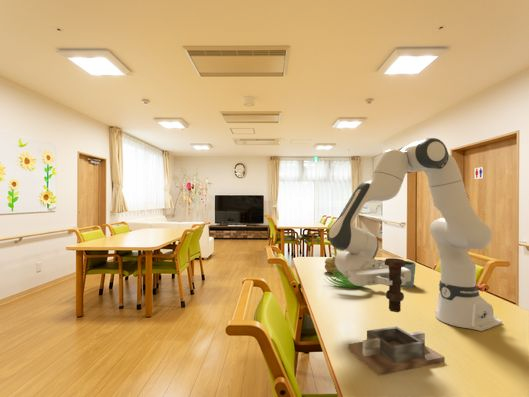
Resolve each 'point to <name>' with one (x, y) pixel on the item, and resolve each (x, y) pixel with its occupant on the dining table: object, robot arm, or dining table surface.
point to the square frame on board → (394, 350)
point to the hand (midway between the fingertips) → (397, 282)
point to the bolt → (395, 283)
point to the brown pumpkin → (331, 265)
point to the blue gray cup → (412, 268)
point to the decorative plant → (341, 278)
